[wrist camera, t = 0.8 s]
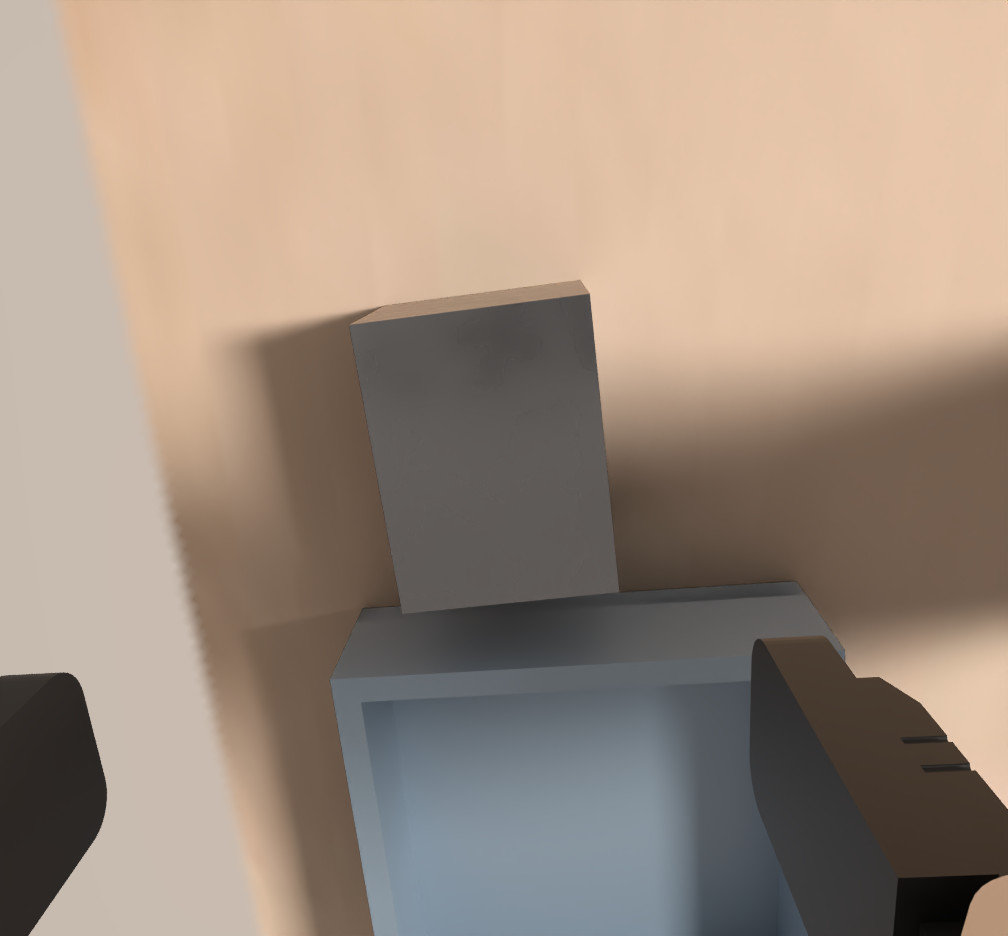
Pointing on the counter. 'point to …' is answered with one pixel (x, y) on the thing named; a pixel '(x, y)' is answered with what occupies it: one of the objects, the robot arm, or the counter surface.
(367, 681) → the box
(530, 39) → the counter surface
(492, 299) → the iron block
